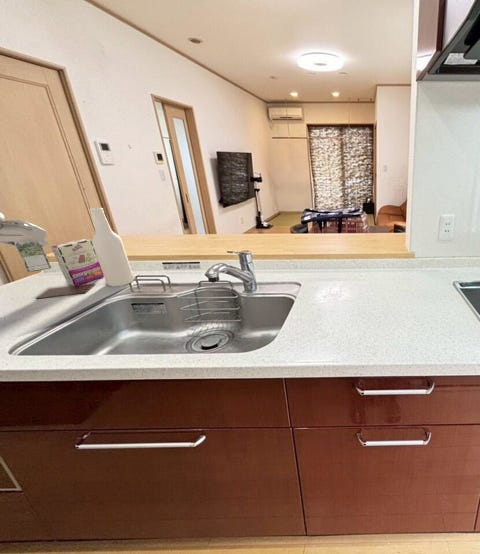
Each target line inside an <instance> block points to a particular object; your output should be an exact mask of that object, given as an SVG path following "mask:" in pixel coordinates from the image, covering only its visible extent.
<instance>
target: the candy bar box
mask: <svg viewBox="0 0 480 554" xmlns="http://www.w3.org/2000/svg"><path fill="white" fill-rule="evenodd" d="M50 248H51V251H52V253H53V255H54V257H55V259H56V262H57V264H58V267H59V268H60V270H61V273H62V275H63V278H64V279H65V282H66V284H67V285H68V286H76V285H85V284H88V283H89V282H93V281H96V280H99V279H102V278H105V277H104V274H103V272H102V269H101V266H100V264H99V261H98V258H97V255H96V253H95V250H94V247H93V244H92V239H87V238H81V239H77V240H71V241H68V242H63V243H58V244H55V245H54V244H53V245H51V246H50Z"/></svg>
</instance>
